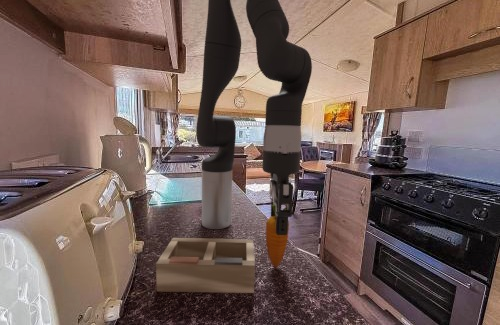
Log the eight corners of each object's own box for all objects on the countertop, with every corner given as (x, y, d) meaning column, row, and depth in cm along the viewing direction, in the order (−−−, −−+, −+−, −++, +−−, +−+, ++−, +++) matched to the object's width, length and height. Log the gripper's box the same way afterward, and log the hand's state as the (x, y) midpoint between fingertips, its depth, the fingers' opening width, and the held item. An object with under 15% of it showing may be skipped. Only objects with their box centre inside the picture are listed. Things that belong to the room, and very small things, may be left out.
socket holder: (173, 260, 50) (172, 235, 50) (252, 262, 51) (253, 237, 50) (156, 291, 41) (155, 261, 40) (253, 292, 41) (255, 262, 41)
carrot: (272, 258, 53) (275, 196, 51) (290, 266, 50) (295, 201, 47) (259, 267, 49) (262, 201, 47) (278, 277, 46) (283, 207, 44)
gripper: (260, 146, 52) (258, 212, 55) (266, 151, 38) (263, 241, 40) (292, 146, 53) (289, 213, 55) (310, 152, 38) (304, 241, 41)
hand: (278, 225), depth 48 cm, fingers open, 8 cm apart
